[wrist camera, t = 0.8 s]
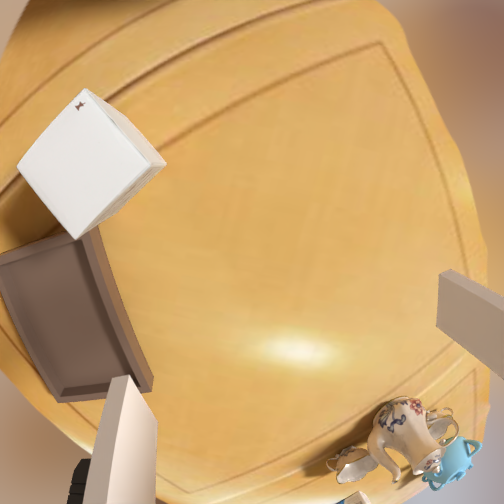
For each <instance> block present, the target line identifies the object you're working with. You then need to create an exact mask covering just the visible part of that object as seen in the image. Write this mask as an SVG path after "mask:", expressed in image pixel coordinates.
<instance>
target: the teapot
mask: <svg viewBox="0 0 504 504" xmlns="http://www.w3.org/2000/svg"><path fill="white" fill-rule="evenodd" d="M453 438H454V437H452V438H450V439H448V440H446V441H445V444H447V443H448V442H449V441H451V440H452V439H453ZM445 444H444V445H445ZM469 444H471V445H473V446H474V447H475V450H474V451H473V452H472V453H471V451H470V446H469ZM445 448H446V452H445V453H444V456H443V457H442V458H441V463H440V464H439V466H440V468H439V469H440V471H439V473H432V471H431V472H423V474H424V476H423V477H422V481H423V482H427V481H428V482H429V485H430V488H431V489H432V490H434V491H437V490H440V489H441V488H443V486H444V485H445V484H448V483H451V482H452V481H454V480H455V479H457V481H458V480H460V479H461V478H463V477H464V476H465V474H466V473H465V471H466V469H467V468H468V469H470V468H472V467H473V464H472V463H471V456H473V455H474V454H476V453H477V452H478V451H479V450H480V449H481V448H482V444H481V443H480V442H479V441H475V440H466V439H465V438H464V437H457V438H456V440H455V441H454V442H453V443H452V444H450V445H449V446H447V447H445ZM426 477H427V480H425V478H426ZM432 481H434V482H437V483H442V484H441V486H440V487H438V488H436V487H435V486H434V485H433V482H432Z"/></svg>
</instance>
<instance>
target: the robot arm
mask: <svg viewBox="0 0 504 504" xmlns="http://www.w3.org/2000/svg"><path fill="white" fill-rule="evenodd" d="M436 327H437V328H439V329H440V330H441V331H443V332H444V333H445V334H447V335H448V336H449V337H451V338H452V339H453V340H454V341H456V342H457V343H458V344H460V345H461V346H462V347H463V348H465V349H466V350H467V351H468V352H470V353H471V354H472V355H474V356H475V357H476V358H477V359H479V360H480V361H481V362H482V363H484V364H485V365H486V366H487V367H488V368H490V369H491V370H492V371H493V372H495V373H496V374H497V375H498V376H500V377H501V378H502V379H503V380H504V297H502V296H501V295H499V294H497V293H496V292H494V291H492V290H490V289H488V288H486V287H484V286H482V285H481V284H479V283H477V282H475V281H473V280H471V279H469V278H467V277H465V276H463V275H461V274H459V273H457V272H455V271H454V270H452V269H449V270H447V271H445V272H443V273H441V274H439V288H438V307H437V321H436ZM157 432H158V421H157V419H156V418H155V416H154V415H153V413H152V412H151V410H150V409H149V407H148V405H147V404H146V402H145V400H144V399H143V397H142V395H141V394H140V392H139V390H138V389H137V387H136V385H135V384H134V382H133V380H132V378H131V377H130V375H125V376H120V377H114V378H112V380H111V383H110V387H109V390H108V394H107V397H106V401H105V405H104V408H103V412H102V416H101V420H100V424H99V428H98V432H97V436H96V440H95V445H94V449H93V453H92V458H91V459H81V461H80V462H79V464H78V465H77V467H76V468H75V470H74V473H73V477H72V481H71V483H72V485H71V486H70V491H69V493H70V495H68V500H67V504H155V486H156V452H157Z"/></svg>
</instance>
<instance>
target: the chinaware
mask: <svg viewBox="0 0 504 504" xmlns="http://www.w3.org/2000/svg"><path fill="white" fill-rule="evenodd" d="M445 409H448V410H450V411H451V412H452V416H453V411H452V409H450V408H443V409H442V410H441V411H443V410H445ZM429 411H430V410H429ZM429 411H425V408H424V407H423V406H422V403H421V401H420V399H418V398H409V397H407V396H400V397H397V398H395V399H393V400H391V401H389V402H388V403H386V404H385V405H384V406H383V407H382V408H381V409H380V410H379V411H378V412H377V413H376V415H375V416H374V418H373V421H372V426H373V429H372V431H371V433H370V435H369V437H368V440H367V449H368V451H367V450H366V449H362V448H357V447H356V448H355V447H353V446H352V445H351V446H350V447H348V448H345V449H342V452H341V453H340V454H336V455H335V457H336V458H329V459H328V460H327V461H326V466H327V467H328V469H330V470H331V471H337V475H336V479H337V482H338V483H339V484H344V483H346V482H347V481H351V482H355V481H358V480H360V479H362V478H363V477H364V476H365V475H366V474H367V472H370V471H372V470H374V469H375V468H377V466H378V464H380V465H382V466H383V467H385V468H386V469H387V470H389V471H390V472H391V473H392V474H393V480H392V484H394V483H396V482H397V481H398V480H399V478H400V475H401V472H400V469H399V467H398V465H397V464H396V463H395V462H394V461H393V460H392V458H391V457H390V456H389V455H388V454H387V453H386V452H385V450H384V448H385V447H386V448H391V449H394V450H396V451H398V452H399V453H401V454H402V455H403V456H404V457H405V458H406V459H407V460H408V462H409V463H410V465H411V467H412V470H413V475H418V474H422V473H423V472H431V471H432V473H439V471H440V469H439V468H440V466H439V464H440V463H441V458H442V457H443V456H444V453H445V452H446V448H445V447H447V446H449V445H450V444H452V443H453V442H454V441H455V440H456V438H457V436H458V434H459V426H458V424H457V422H456V421H455V420H453V417H452V416H450V415H449V414H444V413H442V412H441V411H440V412H439V411H436V410H435V411H433V412H430V413H429ZM451 423H452V424H453V425H454V426H455V428H456V434H455V436H454V438H453V439H452V440H451V441H449V442H448V443H447V444H445V441H446V440H445V439H441V440H440V442H439V444H438V443H437V442H436V441H435V440H436V439H439V438H441V437H442V436H443V435H444V434H445V433H446V431H447V427H448V426H449V425H450V424H451ZM440 444H441V445H440ZM444 444H445V445H444ZM339 457H340V458H339ZM336 459H338V462H337V466H336V468H335V469H333V468H331V467H330V466H329V465H328V461H329V460H336Z"/></svg>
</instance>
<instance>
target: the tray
mask: <svg viewBox="0 0 504 504" xmlns="http://www.w3.org/2000/svg"><path fill="white" fill-rule="evenodd" d="M0 291H1V294H2V297H3V299H4V301H5V304H6V306H7V309H8V311H9V313H10V316H11V318H12V320H13V322H14V325H15V327H16V329H17V331H18V333H19V335H20V337H21V339H22V341H23V343H24V345H25V347H26V349H27V351H28V353H29V355H30V357H31V359H32V361H33V362H34V364H35V366H36V368H37V370H38V371H39V373H40V375H41V377H42V378H43V380H44V382H45V383H46V385H47V387H48V388H49V390H50V391H51V393H52V395H53V396H54V398H55V399H56V401H57V402H58V403H66V402H78V401H88V400H97V399H105V398H106V397H107V394H108V390H109V387H110V383H111V380H112V378H114V377H120V376H125V375H130V377H131V378H132V380H133V382H134V384H135V385H136V387H137V389H138V390H139V392H140V394H141V393H147V392H152V386H153V378H154V376H153V374H152V372H151V370H150V368H149V366H148V363H147V361H146V359H145V357H144V354H143V352H142V350H141V347H140V345H139V343H138V340H137V338H136V335H135V333H134V330H133V328H132V325H131V323H130V320H129V318H128V315H127V313H126V310H125V307H124V305H123V302H122V299H121V297H120V294H119V291H118V288H117V285H116V282H115V279H114V277H113V274H112V271H111V267H110V264H109V261H108V258H107V255H106V252H105V248H104V245H103V242H102V238H101V235H100V232H99V228H98V225H97V226H95V227H94V228H92V229H91V230H89V231H88V232H86V233H85V234H83V235H82V236H81V237H79V238H78V239H76V240H75V239H74V238H73V237H72V236H71V235H70V234H69V233H68V231H64V232H61V233H57V234H54V235H51V236H48V237H46V238H43V239H40V240H37V241H34V242H31V243H28V244H25V245H23V246H20V247H17V248H14V249H12V250H9V251H6V252H3V253H1V254H0Z"/></svg>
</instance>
